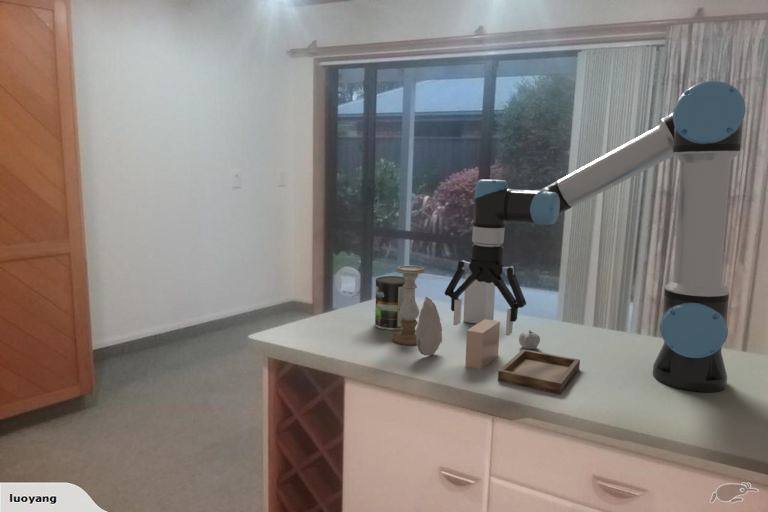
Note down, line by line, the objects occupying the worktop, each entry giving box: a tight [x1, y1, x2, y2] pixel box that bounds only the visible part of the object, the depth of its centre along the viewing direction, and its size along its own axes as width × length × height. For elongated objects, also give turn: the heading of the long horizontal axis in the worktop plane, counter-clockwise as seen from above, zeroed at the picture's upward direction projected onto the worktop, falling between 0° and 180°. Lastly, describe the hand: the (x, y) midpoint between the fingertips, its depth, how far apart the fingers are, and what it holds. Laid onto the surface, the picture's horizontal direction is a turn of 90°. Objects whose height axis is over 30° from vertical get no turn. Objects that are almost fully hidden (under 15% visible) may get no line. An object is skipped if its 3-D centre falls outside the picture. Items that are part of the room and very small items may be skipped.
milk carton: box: [463, 269, 496, 325], centre depth 178 cm, size 7×7×19 cm
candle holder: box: [392, 265, 425, 346], centre depth 157 cm, size 9×9×20 cm
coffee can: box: [374, 275, 405, 331], centre depth 172 cm, size 10×10×14 cm
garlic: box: [518, 329, 541, 350], centre depth 154 cm, size 6×5×5 cm
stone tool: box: [415, 296, 443, 356], centre depth 146 cm, size 9×3×15 cm, turn 140°
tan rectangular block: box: [465, 319, 501, 370], centre depth 144 cm, size 4×12×9 cm, turn 149°
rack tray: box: [497, 348, 581, 395], centre depth 135 cm, size 14×18×2 cm
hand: (482, 328), depth 143 cm, fingers open, 13 cm apart
